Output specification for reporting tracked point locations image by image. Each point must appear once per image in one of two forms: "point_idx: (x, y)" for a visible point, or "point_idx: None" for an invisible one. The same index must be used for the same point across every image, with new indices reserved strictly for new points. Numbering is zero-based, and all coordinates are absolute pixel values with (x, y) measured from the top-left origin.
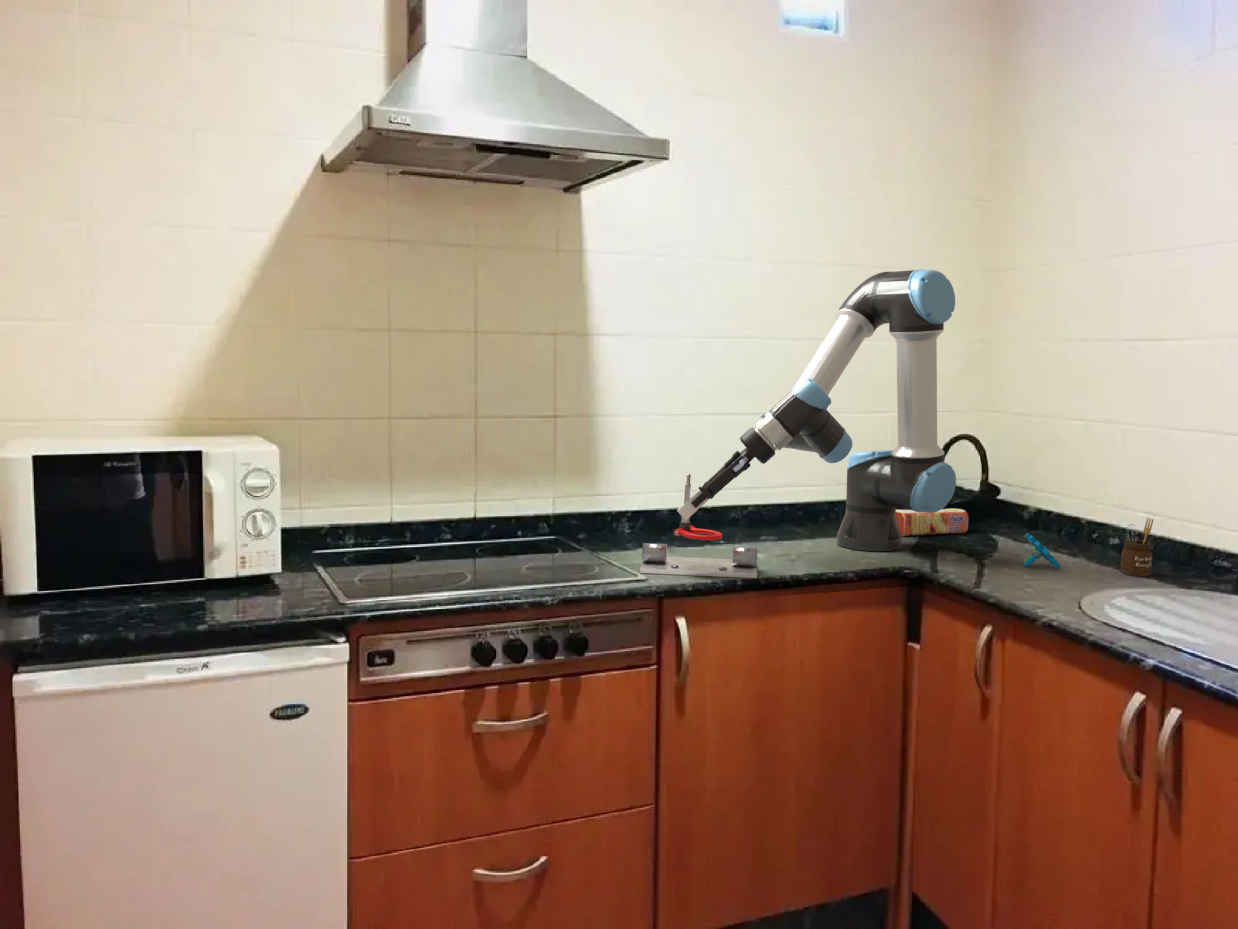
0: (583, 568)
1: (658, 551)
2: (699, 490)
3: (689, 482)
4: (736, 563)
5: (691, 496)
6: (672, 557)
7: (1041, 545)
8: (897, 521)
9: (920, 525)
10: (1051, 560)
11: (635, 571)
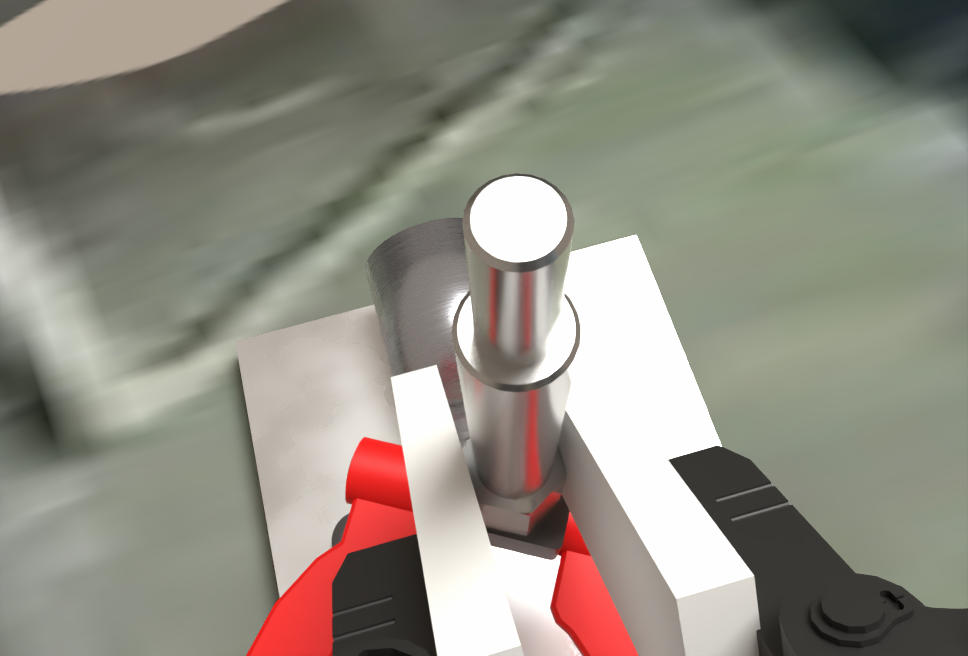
0: (251, 51)
1: (395, 369)
2: (475, 647)
3: (499, 346)
4: None
5: (646, 448)
6: (680, 416)
7: None
8: None
9: None
10: None
11: (285, 311)
